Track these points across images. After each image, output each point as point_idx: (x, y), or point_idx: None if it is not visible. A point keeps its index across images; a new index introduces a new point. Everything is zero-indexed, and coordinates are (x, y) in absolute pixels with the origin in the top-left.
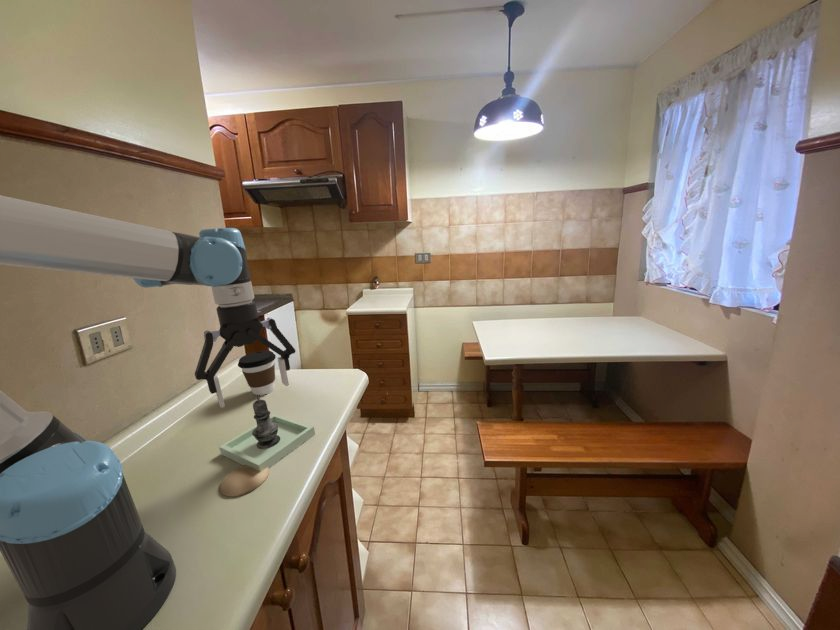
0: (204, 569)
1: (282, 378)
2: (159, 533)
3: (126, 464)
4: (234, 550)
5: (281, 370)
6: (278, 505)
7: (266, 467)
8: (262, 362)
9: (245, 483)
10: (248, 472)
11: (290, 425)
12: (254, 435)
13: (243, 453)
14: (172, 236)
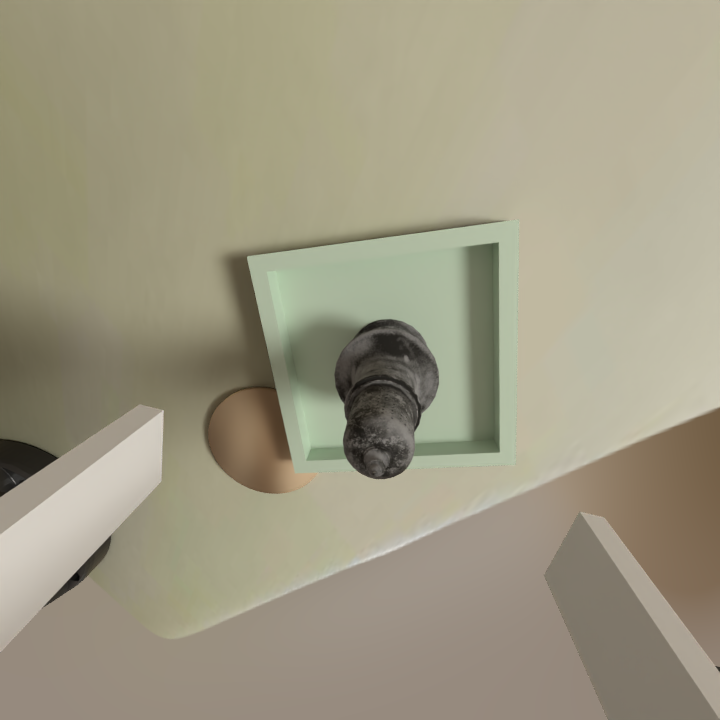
0: (147, 563)
1: (589, 582)
2: (89, 429)
3: None
4: (191, 573)
5: (631, 691)
6: (282, 562)
7: None
8: None
9: (257, 464)
10: (279, 435)
11: (494, 349)
12: (336, 383)
13: (289, 381)
14: None
